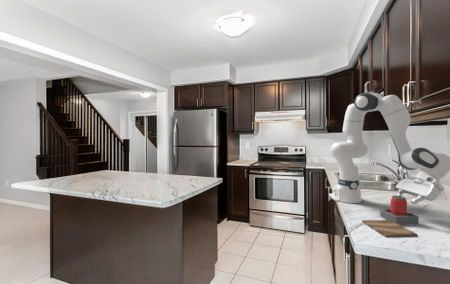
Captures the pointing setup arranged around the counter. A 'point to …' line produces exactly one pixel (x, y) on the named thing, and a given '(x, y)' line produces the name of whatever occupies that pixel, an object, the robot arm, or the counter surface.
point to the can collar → (399, 217)
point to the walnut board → (389, 228)
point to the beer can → (399, 206)
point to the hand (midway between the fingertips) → (405, 200)
